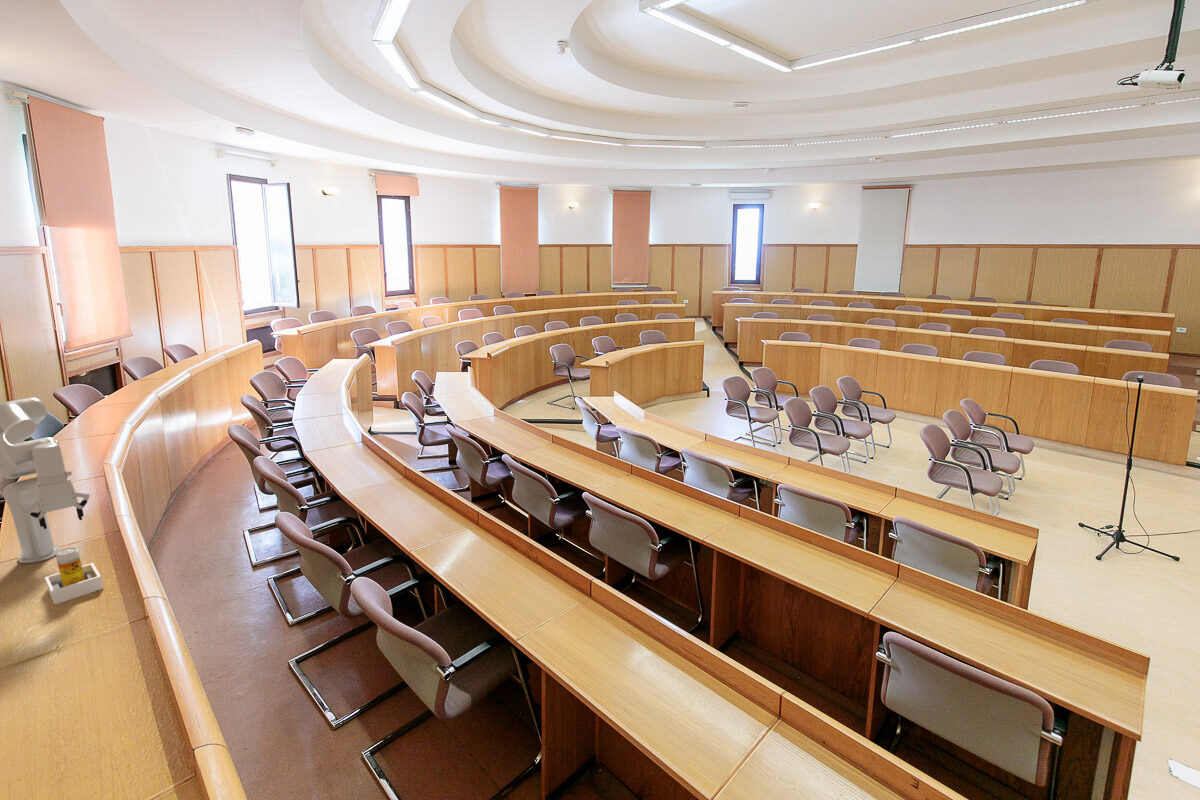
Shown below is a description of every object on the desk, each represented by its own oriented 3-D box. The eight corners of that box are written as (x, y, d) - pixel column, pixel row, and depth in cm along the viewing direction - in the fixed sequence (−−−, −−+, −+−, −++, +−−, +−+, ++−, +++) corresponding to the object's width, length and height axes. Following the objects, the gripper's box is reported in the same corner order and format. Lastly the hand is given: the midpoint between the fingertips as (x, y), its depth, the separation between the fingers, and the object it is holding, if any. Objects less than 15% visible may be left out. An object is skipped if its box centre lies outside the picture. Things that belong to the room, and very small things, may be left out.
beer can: (73, 594, 219) (64, 556, 215) (59, 592, 220) (50, 554, 216) (90, 585, 224) (82, 548, 221) (77, 583, 226) (68, 546, 222)
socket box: (47, 589, 222) (44, 577, 220) (95, 574, 231) (92, 562, 230) (54, 604, 213) (51, 591, 212) (103, 588, 223) (100, 576, 221)
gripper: (82, 468, 222) (91, 512, 227) (17, 482, 210) (28, 527, 215) (86, 474, 218) (95, 518, 222) (20, 488, 205) (31, 535, 210)
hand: (62, 523), depth 219 cm, fingers open, 9 cm apart
